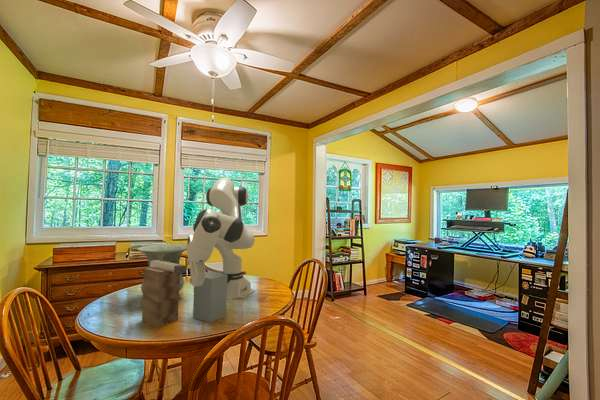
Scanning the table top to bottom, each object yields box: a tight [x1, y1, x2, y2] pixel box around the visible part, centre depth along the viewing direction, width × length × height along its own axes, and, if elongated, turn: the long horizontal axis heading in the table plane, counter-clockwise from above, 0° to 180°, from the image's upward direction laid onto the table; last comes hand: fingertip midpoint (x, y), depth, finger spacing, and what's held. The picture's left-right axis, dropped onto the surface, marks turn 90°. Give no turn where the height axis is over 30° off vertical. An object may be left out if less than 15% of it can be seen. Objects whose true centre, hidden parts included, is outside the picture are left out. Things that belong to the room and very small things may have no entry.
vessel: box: [136, 243, 187, 301], centre depth 154 cm, size 27×27×30 cm
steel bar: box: [150, 260, 187, 274], centre depth 125 cm, size 3×22×3 cm, turn 60°
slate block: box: [192, 271, 228, 324], centre depth 133 cm, size 10×12×20 cm
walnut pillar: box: [141, 267, 180, 328], centre depth 127 cm, size 10×12×24 cm
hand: (190, 272), depth 112 cm, fingers open, 8 cm apart
